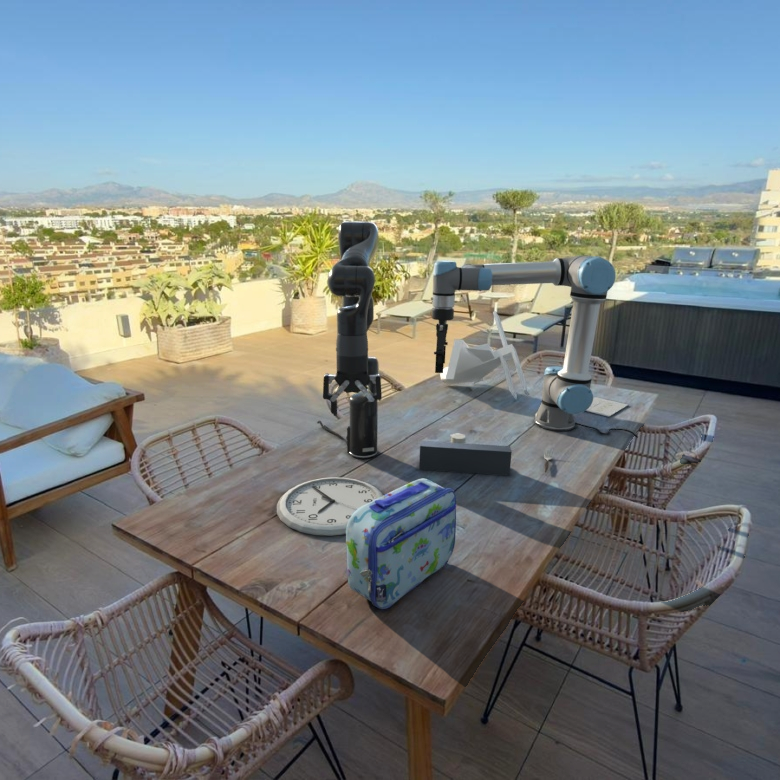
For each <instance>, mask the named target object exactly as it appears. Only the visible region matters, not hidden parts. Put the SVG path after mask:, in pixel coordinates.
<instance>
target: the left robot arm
mask: <svg viewBox="0 0 780 780" xmlns="http://www.w3.org/2000/svg"><path fill="white" fill-rule="evenodd" d="M337 232H338V233H337V236H338V238H337V239H338V248H339V249H338V251H339V261H338V262H336V263H335V264H334V265H333V266H332V268H331V269H330V270H329V273H328V277H327V287H328V289H329V291H330V293H331V294H332V295H334V296H335V297H339V298H342V307H340V308H339V309H337V312H336V339H335V353H336V355H335V356H336V373H335V374H330V373H328V372H326V373H325V374H324V375H323V382H322V383H323V384H322V385H323V386H322V399H323V400H328V401H329V402H330V413H331V414H332V415H333V417H337V416H338V398H339V397H340V396H341V395H342V393H343V392H344V393H345V394H350V393H353V394H352V395H350V397H349V400H348V402H349V403H348V404H349V425H348V426H347V427H346V436H345V437H343V436H341V434H339V433H338V432H337V431H336V432H335V431H333V430H332V429H329V428H328V427H326V426H325V425H324V424H323V422H322V421H321V420H318V421H316V424H319V425H320V427H321V428H322V429H324V430H325V431H327V432H328V433H330V434H333V435H335V436H336V437H338V438H339V439H340V440H342V441H344V442H345V443H346V450H347V451H346V452H347V454H349V455H350V456H351V457H352V458H354V459H361V460H364V459H371V458H374V457H376V456H377V455H378V424H379V423H378V419H379V418H378V417H379V416H378V415H379V414H378V413H379V411H378V409H379V405H378V404H379V400H382V397H383V395H382V378H381V373H380V371H379V370H380V364H379V363H380V362H379V360H378V358H376V357H374V356H369V341H368V339H369V338H368V331H369V330H370V329H371V327H372V325H373V322H374V318H375V317H374V315H375V311H374V309H375V308H374V304H375V303H374V298H373V296H372V294H373V291H374V287H375V283H376V276H375V272H374V270H373V269H372V268H371V267H370V264H371V263H372V261H373V259H374V258H375V256H376V254H377V253H378V249H379V243H380V242H379V241H380V240H379V239H380V238H379V229H378V227H377V225H376V224H375V223H374V222H370V221H343V222H341V223H340V224H339V227H338V230H337ZM333 381H335V383H336V384H337V385H338V386H337V387H336V388H335V390H334V391H333V393H330V385H331V384H332V383H333Z"/></svg>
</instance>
